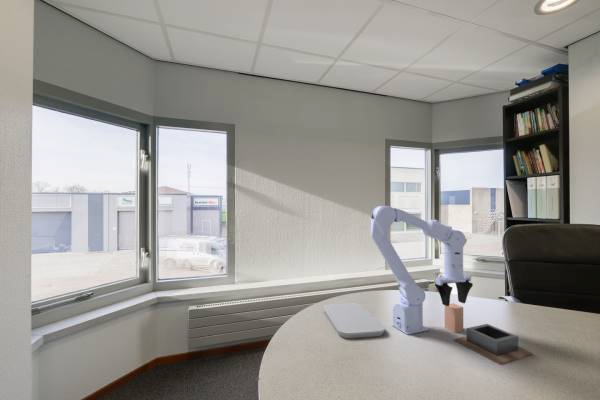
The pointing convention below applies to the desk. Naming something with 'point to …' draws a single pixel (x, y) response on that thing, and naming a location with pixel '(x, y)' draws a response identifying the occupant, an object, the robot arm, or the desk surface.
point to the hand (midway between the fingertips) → (453, 303)
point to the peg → (454, 318)
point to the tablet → (353, 320)
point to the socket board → (493, 343)
